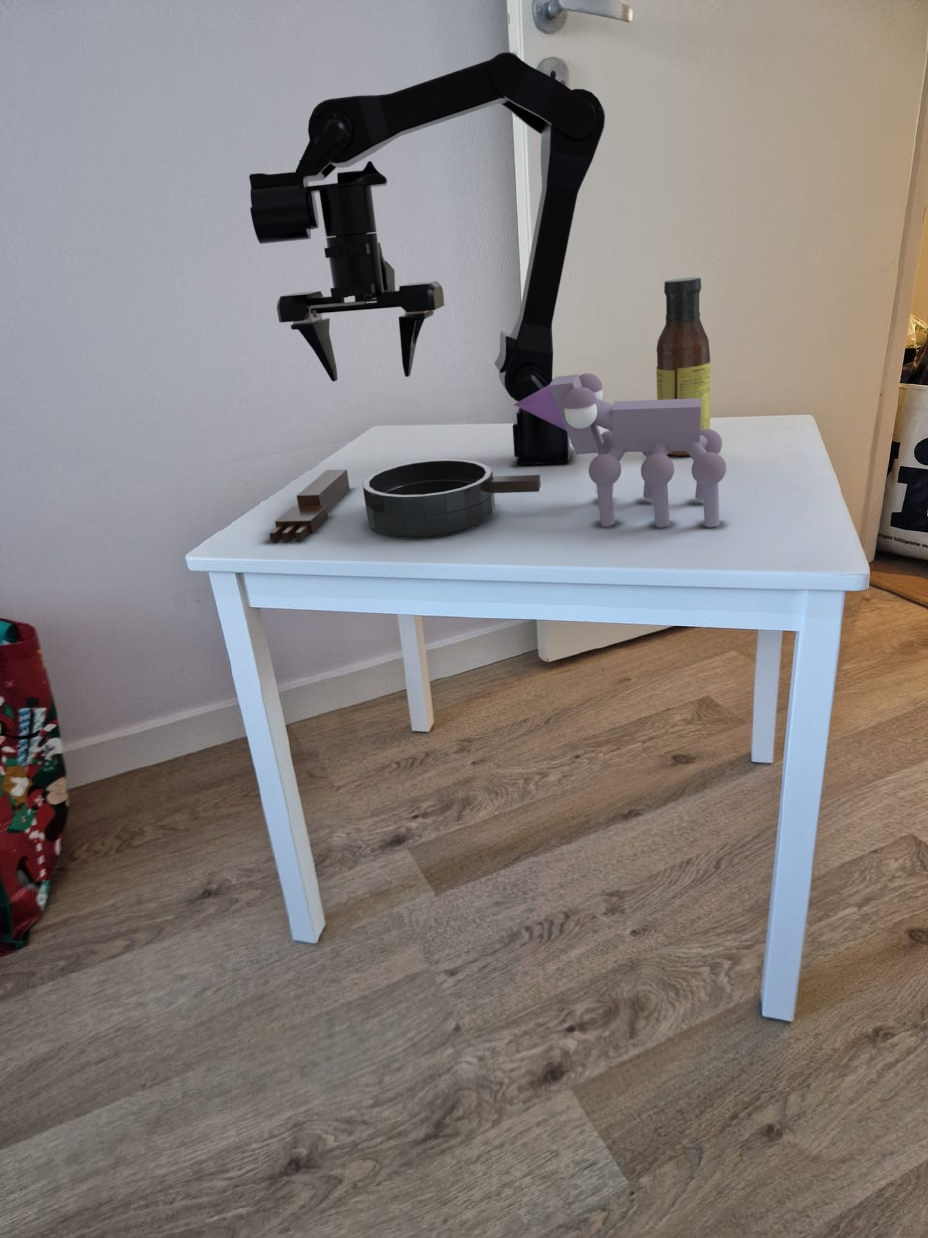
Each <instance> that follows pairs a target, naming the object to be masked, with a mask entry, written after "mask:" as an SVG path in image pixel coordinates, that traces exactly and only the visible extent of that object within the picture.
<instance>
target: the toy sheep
mask: <svg viewBox="0 0 928 1238" xmlns="http://www.w3.org/2000/svg"><path fill="white" fill-rule="evenodd" d="M552 379H553V381H552V382H551V383H550V385H548V386H546V387H544V388H543V389H541V390H539V391H537V392H535V393H534V394H532V395H530V396H528V397H526V398H525V399H523V400H521V401H519V402H518V401H517V402H516V403H514V404H513V406H515V407H517V408H518V409H519V408H521V409H523V410H525V411H527V412H530V413H532V414H534V415H536V416H538V417H540V418H542V419H544V420H546V421H548V422H550V423H552V424H554V425H556V426H558V427H560V428H562V429H564V430H566V431H567V433H568V436H569V440H570V443H571V445H572V446H571V447H572V448H573V451H574V453H575V455H576V456H578V455H589V454H590V455H591V454H597V456H595V457H594V458H593V459H592V460H591V461H590V464H589V466H588V475H589V478H590V480H591V481H592V482H593V483H594V485H595V486H596V489H595V488H594V487H593V489H594V491H595V492H596V495H597V502H598V505H596V507H597V508H598V510H599V521H600V525H601V527H604V528H607V527H611V526H613V525H614V524H615V523H616V520H615V509H614V501H613V497H614V495H613V494H614V493H613V492H614V484H616V482H618V480H619V479H620V477H621V474H622V466H621V460H622V459H623V456H624V455H625V454H626V453H642V454H643V456H645V459H644V460H643V462H642V464H641V466H640V475H641V478H642V480H643V493H642V494H643V495H642V497H643V498H645V499H648V500H653V501H652V502H653V512H654V525H655V527H656V528H666V527H668V526H670V523H671V519H670V505H669V488H668V483H669V482H670V481H671V480H672V479H673V477H674V474H675V465H674V462H673V461H672V459H671V458H670V456H668V455H669V454H668V453H669V452H670V451H687V452H688V454H689V455H688V456H690V458H691V459H692V461H693V462H692V465H691V470H690V471H691V475H692V478H693V479H694V481H695V482H696V485H695V495H694V498H695V499H697V500H702V501H703V519H704V520H703V521H704V526H705V527H706V528H715V527H717V526H720V498H719V497H720V496H719V495H720V494H719V493H720V492H719V483H720V482H721V481H722V480H723V478H724V477H725V476H726V472H727V465H726V462H725V461H726V460H725V459H724V458H723V457H722V456H721V455H720V452H721V450H722V448H723V439H722V437H721V435H720V433H719V432H717V431H716V430H714V429H711V428H710V429H703V430H700V426H701V402H702V398H695V399H667V400H657V399H643V400H642V399H639V400H616V401H614V403H613V404H612V403H610V402H607V401H605V400H603V398H604V397H603V395H604V393H603V384H602V381H601V380H600V378H599V377H598V376H597V375H595V374H593V373H589V372H588V373H587V372H586V373H582V374H580V375H579V374H578V373H576V374H569V375H567V374H566V375H560V376H559V375H558V376H554V378H552ZM599 427H600V428H602V429H605V430H606V431H604V432H602V433H601V431H600V428H599Z"/></svg>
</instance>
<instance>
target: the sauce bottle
mask: <svg viewBox="0 0 928 1238" xmlns="http://www.w3.org/2000/svg"><path fill="white" fill-rule="evenodd" d="M701 279H702V278H701V277H700V276H692V277H691V276H690V277H680V278H673V279H667V280H665V281H664V289H663V290H664V291H663V292H664V295H665V304H666V305H665V310H666V313H665V325H664V327H663V329H662V331H661V333H660V335H659V337H658V340H657V343H656V368H655V369H656V371H655V372H656V400H667V399H695V398H702V402H701V426H700V430H703V429H711V351H710V340H709V337H708V335H707V333H706V331H705V329H704V327H703V324H702V320H701V318H700V317H701V312H700V294H701V293H700V292H701V290H702V280H701ZM667 455H671V456H676V457H677V456H690V455H689V454H688V452H687V451H670V452H669V453H668V454H667Z"/></svg>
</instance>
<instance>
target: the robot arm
mask: <svg viewBox="0 0 928 1238" xmlns="http://www.w3.org/2000/svg"><path fill="white" fill-rule="evenodd" d="M494 105H501V106H502V107H504V108H505V109H507V110H508V111H509V112H511V113H512V114H513V115H514V116H516V117H517V118H518V120H520V121H522V122H523V123H524V124H525V125H526V126H527V127H529V128H531V129H532V130H533V131H535V132H536V133H538V134H539V135H540V173H541V192H540V198H539V203H538V209H537V214H536V220H535V224H534V225H535V226H534V230H533V237H532V241H531V246H530V253H529V258H528V265H527V268H526V269H527V270H526V276H525V280H524V287H523V292H522V298H521V304H520V308H519V314H518V317H517V320H516V323H515V325H514V326H513V329H512V332H511V333H508V332H506V331H503V330H502V331H500V335H499V352H498V355H497V357H496V360H495V361H494V366H495V367H496V369H497V370H498V377H499V380H500V382H501V383H500V384H502V386H503V387H504V389H505V390H506V392H507V394H508V395H509V396H510V397H511V398H512V399H513V400H515V401H516V402H517V403H518V402H519V401H521V400H523V399H525V398H526V397H528V396H530V395H532V394H534V393H535V392H537V391H539V390H541V389H543V388H544V387H546V386H548V385H550V383H551V382H552V381H553V379H554V378H553V367H554V347H553V346H554V344H553V320H554V316H555V310H556V305H557V299H558V295H559V289H560V285H561V280H562V275H563V270H564V266H565V265H564V264H565V261H566V260H565V259H566V255H567V249H568V245H569V240H570V234H571V230H572V226H573V220H574V215H575V209H576V203H577V199H578V194H579V191H580V190H581V187H582V184H583V182H584V180H585V178H586V175H587V173H588V171H589V169H590V167H591V164H592V162H593V160H594V157H595V154H596V151H597V149H598V146H599V143H600V140H601V138H602V135H603V132H604V130H605V129H604V128H605V122H606V113H605V108H604V107H603V105H602V103H601V102H600V100H599V98H598V97H597V96H596V95H595V94H594V93H593V92H591V91H589V90H587V89H584V88H573V89H571V88H570V87H568V86H566V84H564V83H562V82H561V81H559V80H558V79H556V78H554V77H552V76H551V75H548V74H546V73H545V72H542V71H541V70H538V69H537V68H534V67H532V66H531V65H529V64H527V62H525V61H523V60H522V59H521V58H520V57H519V56H517V55H516V54H515V53H513V52H509V51H505V52H500V53H498V54H496V55H495V56H494V57H492V58H490V59H488V60H485V61H482V62H479V63H477V64H472V65H470V66H468V67H464V68H462V69H459V70H456V71H453V72H450V73H447V74H444V75H441V76H438V77H435V78H433V79H429V80H426V81H423V82H421V83H417V84H415V85H411V86H409V87H405V88H403V89H402V88H401V89H399V90H397V91H394V92H390V93H385V94H384V93H383V94H371V95H368V94H367V95H352V96H344V97H343V96H342V97H336V98H329V99H324V100H322V101H321V102H319V103H318V104H317V105H315V107H314V108H313V110H312V112H311V114H310V117H309V119H308V125H307V132H308V139H309V141H308V142H307V143H308V144H307V145H306V148H305V150H304V152H303V154H302V156H301V158H300V159H299V160H298V161H299V162H298V165H297V167H296V169H295V171H290V172H281V173H262V172H258V173H250V174H249V176H248V179H249V184H250V191H249V192H250V204H251V206H250V208H249V211H250V215H251V222H252V226H253V229H254V233H255V236H256V239H257V241H258V243H259V244H260V245H263V244H273V243H274V244H275V243H284V242H294V241H303V240H311V239H312V230H315V229H319V227H320V221H319V214H318V213H319V212H318V208H317V206H318V205H317V201H316V195H315V194H316V193H319V199H320V200H319V201H320V206H321V213H322V214H321V215H322V220H323V227H324V233H325V237H326V238H325V240H326V247H324V248H323V250H324V257H325V259H328V261H329V268H330V274H331V280H332V287H330V289H329V290H330V295H329V296H324V295H323V292H322V291H321V290H315V291H305V292H294V293H290V294H284V295H280V296H279V298H278V300H277V303H276V312H277V317H278V323H292V324H290V329H291V331H292V330H293V331H295V330H297V331H299V333H300V335H302V337H303V338H304V340H305V341H306V342H307V343H308V344H309V346H310V347H311V349H312V350H313V352H314V354H315V355H316V357H317V358H318V360H319V362H320V363H321V365H322V367H323V368H324V370H325V372H326V374H327V375H328V377H329V379H330V380H331V382H337V381H338V371H337V370H338V369H337V363H336V358H335V353H334V349H333V345H332V340H331V339H332V338H331V335H330V321H331V319H330V317H323V314H329V313H330V314H331V313H342V312H352V311H355V312H356V311H366V310H367V311H368V310H379V309H381V310H382V309H391V308H402V309H403V310H404V314H401V315H400V316H398V326H399V327H398V328H399V339H400V350H401V352H400V353H401V364H402V369H403V374H404V377H405V378H409V377H410V376H411V373H412V369H413V362H414V358H415V353H416V348H417V343H418V339H419V336H420V332H421V329H422V326H423V324H424V322H425V320H426V319H428V318H430V317H432V316H434V312H435V311H436V310H438V309H441V308H442V307H444V306H445V297H444V290H443V285H441V284H440V282H439V281H438V280H431V281H430V280H429V281H419V282H409V283H408V282H407V283H406V284H402V285H399V288H398V290H396V277H395V275H396V274H395V272H396V271H395V268H394V267H393V266H391V264H390V263H389V261H387V260H385V258H384V255H383V251H382V250H383V249H382V246H381V242H379V240H378V231H377V224H376V216H375V207H374V199H373V190H372V188H379V187H386V186H387V185H388V179H387V177H386V176H385V175H384V174H382V173H381V172H380V171H379V170H377V168H376V167H375V165H374V163H373V161H371V160H368V161H367V163H366V164H365V166H364V168H363V169H361V170H352V171H342V172H337V174H336V179H337V180H336V181H337V182H334V183H333V182H332V183H327V184H326V183H325V184H317V185H309V183H311V182H319V181H324V180H326V179H327V178H328V176H330V175H331V174H332V173H333V172H334V171H335V170H336V169H337V168H339V169H343V168H344V169H345V168H349V167H351V166H354V165H355V164H357V163H359V162H360V161H363V160H364V159H366V158H367V157H369V156H371V155H373V154H375V153H376V152H377V151H379V150H381V149H382V148H384V147H385V146H387V145H389V144H390V143H391V142H393V141H395V140H396V139H398V138H399V137H401V136H405V135H408V134H410V133H414V132H417V131H420V130H422V129H423V130H424V129H426V128H429V127H432V126H434V125H438V124H441V123H444V122H447V121H450V120H453V119H456V118H458V117H462V116H464V115H468V114H470V113H473V112H477V111H480V110H482V109H485V108H488V107H491V106H494ZM349 297H354V301H345V298H349ZM515 414H516V420H515V421H514V422H513V424H512V441H513V456H514V457H515V458H517V459H516V465H518V466H521V465H522V466H523V465H548V464H549V465H550V464H551V465H553V464H569V462H570V460H571V459H570V458H571V455H572V446H570V445H571V444H570V443H571V441H570V438H569V436H568V433H567V431H566V430H564V429H562V428H560V427H558V426H556V425H554V424H552V423H550V422H548V421H546V420H544V419H542V418H540V417H538V416H536V415H534V414H532V413H530V412H527V411H525V410H523V409H521V408H519V407H518V409H517V410H516V413H515Z"/></svg>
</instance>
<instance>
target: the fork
mask: <svg viewBox="0 0 928 1238" xmlns="http://www.w3.org/2000/svg"><path fill="white" fill-rule="evenodd" d="M349 482H350V481H349V474H348V470H347V469H326V470H325V471H324V472H322V474H320V475H319V476H318V477H317V478H315V479H314V480H313V481H312V482H310V484H308V485H307V486H306V487H305V488H304V489H303V490H301V491H300V492H298V494H296V500H297V505H296V506H295V505H294V506H291V507H290V508H289V509H288V510H287V511H285V512H284V513H282V515H281V516H279V518H277V519H276V520H275V521H274V524H275V528H273V529H272V530H271V531H270V532H269V538H270V539H269V540H270V542H271V543H277V542H278V541H279V540H280V539H281V538H282V541H283V542H284V543H289V542H291V540H293V538H295V541H296V542H303V541H304V540H305V539H306V538H307V537H308V536H309V535H310V534H313V533H314V532H315V531H316V530H317V529H318V528H320V526H321V525H323V523H324V522H325V521H326V520H327V519H328V518H329V512H330V511H331V510H332V509H333V507H334V506H336V504H338V503H339V501H341V499H343V497H345V496H346V495H347V494H348V492H350V491H351V487H350V483H349Z"/></svg>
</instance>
